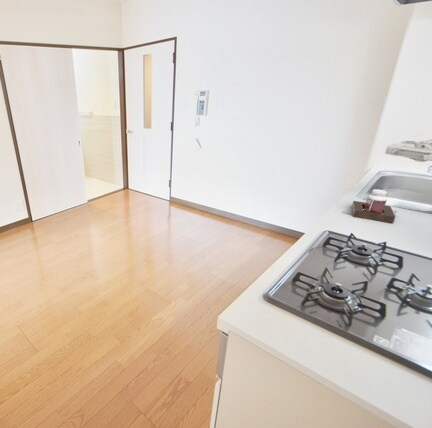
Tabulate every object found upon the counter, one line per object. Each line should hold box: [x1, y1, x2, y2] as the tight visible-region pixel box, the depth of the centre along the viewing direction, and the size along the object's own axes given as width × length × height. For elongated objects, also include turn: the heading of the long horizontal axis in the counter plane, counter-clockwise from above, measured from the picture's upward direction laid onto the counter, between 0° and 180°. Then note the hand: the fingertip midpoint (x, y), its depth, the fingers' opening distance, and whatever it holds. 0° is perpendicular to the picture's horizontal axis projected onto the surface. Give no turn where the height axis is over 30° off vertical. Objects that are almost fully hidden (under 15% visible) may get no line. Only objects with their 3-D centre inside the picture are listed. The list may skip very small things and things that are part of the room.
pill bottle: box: [364, 188, 388, 212], centre depth 122 cm, size 6×6×11 cm
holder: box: [351, 200, 396, 224], centre depth 124 cm, size 13×13×3 cm
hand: (407, 155), depth 118 cm, fingers open, 8 cm apart
